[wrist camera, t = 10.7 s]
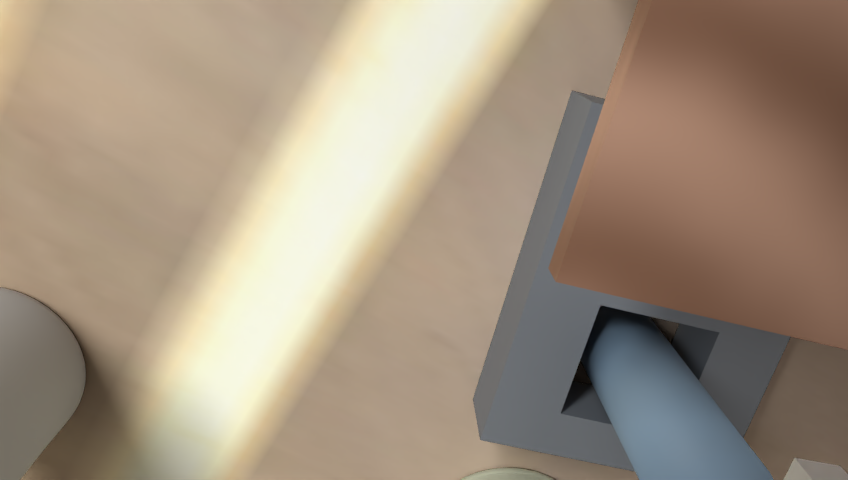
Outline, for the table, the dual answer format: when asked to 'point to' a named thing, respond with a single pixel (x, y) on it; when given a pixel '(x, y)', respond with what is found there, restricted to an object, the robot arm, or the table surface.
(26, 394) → the mug
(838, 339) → the wooden l-bracket
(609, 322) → the peg
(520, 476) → the can
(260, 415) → the table surface
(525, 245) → the socket
